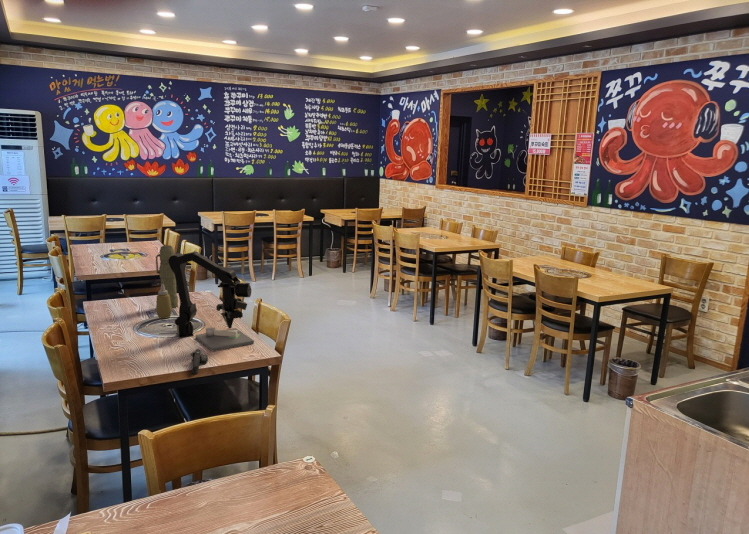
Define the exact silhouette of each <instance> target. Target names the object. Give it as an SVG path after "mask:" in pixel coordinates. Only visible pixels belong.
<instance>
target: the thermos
mask: <svg viewBox="0 0 749 534" xmlns="http://www.w3.org/2000/svg"><path fill="white" fill-rule="evenodd" d="M174 250H175V249H174V247H173V246H172V245H169V244H168V245H167V244H166V245H162V246H160V248H159V254H157V255H156V256H155V268H156V274H158V275H159V279H160V285H161V284H164V287H165V290H167V291H168V294H169V295H170V301H171V307H172V308H175V309H177V308H179V304H178V303H179V295H178V294H177V292H178V290H177V284H176V279H175V274H174V273H173V271H172V270H171V268H170V265H169V262H168V260H169V258H170V257H171V256H173V255H175V254H176V253H175V251H174ZM158 257H159V259H158ZM158 260H159V262H160V263H159V262H158ZM158 263H159V264H160V265H159V264H158ZM176 307H177V308H176Z"/></svg>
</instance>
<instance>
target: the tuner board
mask: <svg viewBox="0 0 749 534" xmlns="http://www.w3.org/2000/svg"><path fill="white" fill-rule="evenodd" d="M226 330H233V331H237V335H238V336H237V337H231V336H217V335H214V336H206V332H205V333H204V332H203V333H199V334H195V339H196V338H197V339H196V340H198V341H199V342H200V343H201V344H202V345H203V344H204V345H203V346H205V347H206V348H207V349H208V350H209V349H210V350H209V351H210V352H217V351H222V350H221V349H223V350H228V349H231V348H232V347H233V348H238V347H242V346H243V345H244V346H248V344H249V345H253V343H254V344H255V340H254V339H253V338H251V337H249V335H247V334H246V333H244V332H242V331H241V330H239V329H238V328H237V327H234V328H228V329H226ZM237 346H238V347H237ZM227 348H228V349H227ZM233 348H232V349H233ZM216 350H217V351H216Z"/></svg>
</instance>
